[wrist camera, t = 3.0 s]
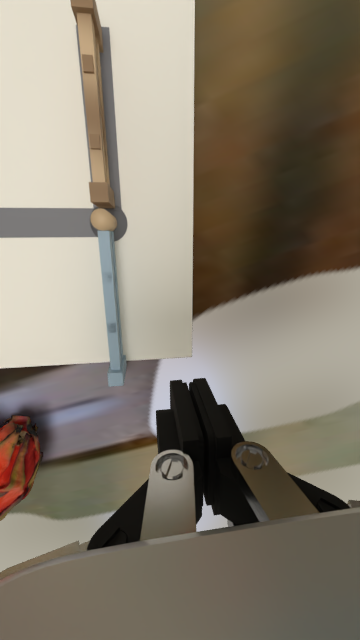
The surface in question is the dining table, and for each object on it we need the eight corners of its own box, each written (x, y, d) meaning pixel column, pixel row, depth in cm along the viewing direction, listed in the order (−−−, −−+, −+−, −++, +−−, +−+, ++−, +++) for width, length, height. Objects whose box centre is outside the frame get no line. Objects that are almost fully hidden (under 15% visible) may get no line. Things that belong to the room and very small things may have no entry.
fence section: (84, 32, 18) (68, -24, 14) (102, 34, 18) (90, -21, 14) (100, 208, 21) (90, 202, 17) (115, 208, 21) (108, 202, 17)
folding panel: (98, 213, 21) (89, 208, 17) (116, 213, 21) (110, 208, 18) (112, 367, 25) (107, 386, 21) (127, 366, 25) (124, 385, 22)
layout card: (193, 1, 18) (194, -3, 18) (191, 355, 26) (192, 357, 26) (-168, -35, 16) (-175, -41, 15) (-48, 369, 24) (-51, 371, 23)
